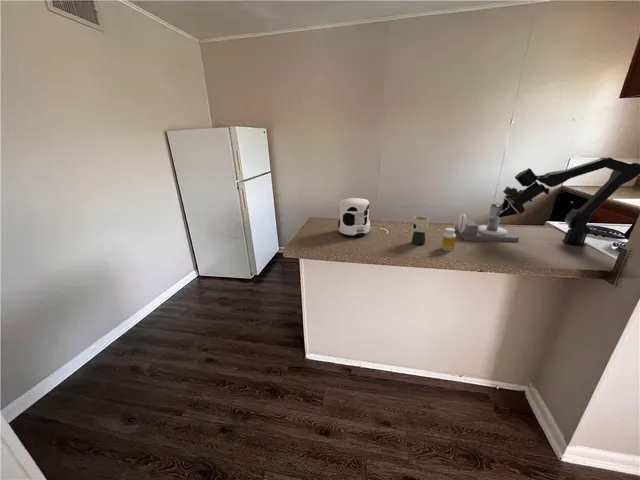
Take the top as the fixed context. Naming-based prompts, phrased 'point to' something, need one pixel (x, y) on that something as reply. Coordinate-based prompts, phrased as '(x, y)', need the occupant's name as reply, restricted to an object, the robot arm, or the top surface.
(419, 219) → the character mug
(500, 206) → the ball
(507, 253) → the top surface
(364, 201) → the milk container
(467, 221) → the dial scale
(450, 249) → the supplement bottle
